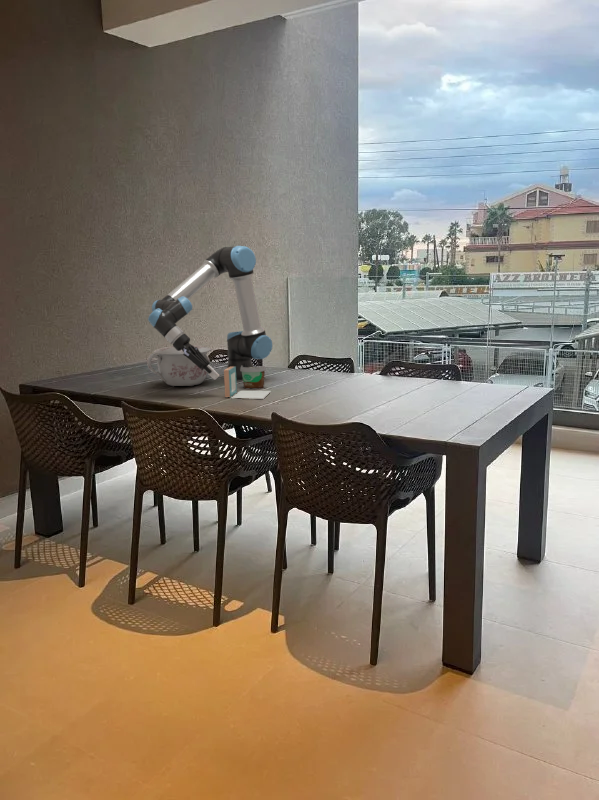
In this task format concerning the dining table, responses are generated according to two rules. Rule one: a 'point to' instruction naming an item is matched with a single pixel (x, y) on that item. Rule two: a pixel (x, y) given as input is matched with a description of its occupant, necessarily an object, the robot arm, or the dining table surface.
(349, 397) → the dining table surface
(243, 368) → the food container
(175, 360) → the chamber pot
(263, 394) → the mat
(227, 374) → the tile
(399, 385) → the dining table surface
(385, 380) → the dining table surface
